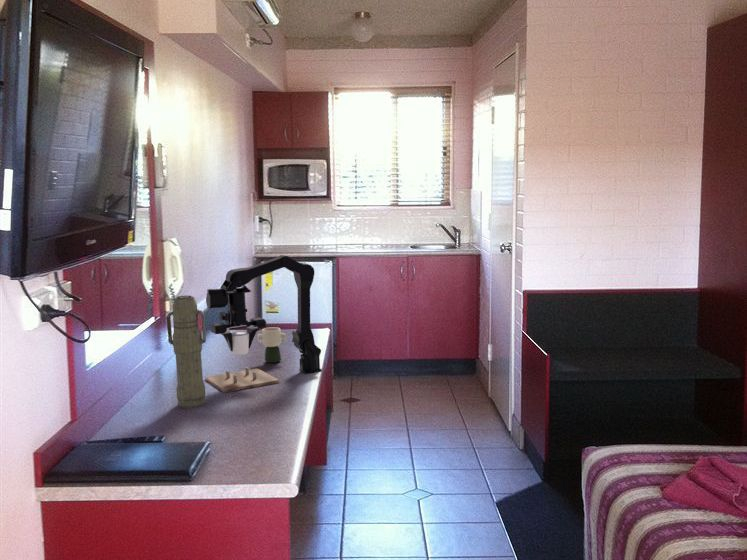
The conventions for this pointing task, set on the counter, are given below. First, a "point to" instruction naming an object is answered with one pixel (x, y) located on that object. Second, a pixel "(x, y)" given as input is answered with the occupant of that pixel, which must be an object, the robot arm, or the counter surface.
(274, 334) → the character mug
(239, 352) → the shot glass
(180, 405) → the thermos
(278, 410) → the counter surface
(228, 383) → the pin plate
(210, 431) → the counter surface
